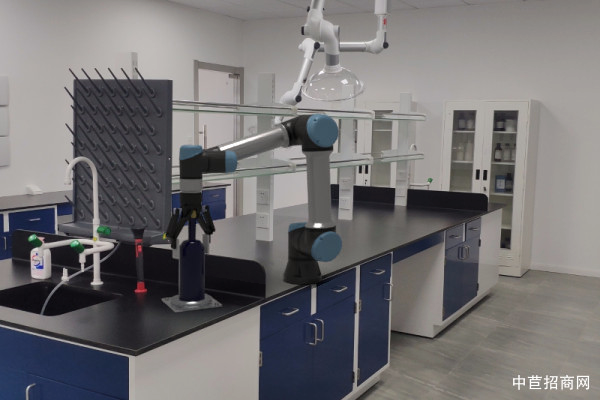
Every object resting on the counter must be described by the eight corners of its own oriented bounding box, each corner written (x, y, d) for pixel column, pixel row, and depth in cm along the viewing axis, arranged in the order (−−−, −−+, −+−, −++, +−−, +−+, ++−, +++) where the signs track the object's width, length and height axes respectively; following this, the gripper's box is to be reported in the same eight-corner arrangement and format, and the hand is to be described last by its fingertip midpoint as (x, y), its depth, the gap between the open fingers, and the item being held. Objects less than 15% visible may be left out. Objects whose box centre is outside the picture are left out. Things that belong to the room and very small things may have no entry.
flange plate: (206, 295, 223) (206, 290, 223) (222, 306, 209) (222, 301, 209) (161, 300, 216) (161, 295, 215) (175, 312, 202) (175, 307, 201)
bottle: (196, 293, 219) (196, 207, 215) (210, 299, 212) (211, 210, 208) (172, 297, 213) (172, 209, 209) (186, 303, 206) (187, 212, 202)
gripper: (211, 188, 220) (211, 249, 222) (153, 193, 202) (154, 259, 204) (226, 190, 215) (225, 252, 217) (167, 194, 197) (168, 262, 199)
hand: (191, 255), depth 211 cm, fingers open, 12 cm apart
